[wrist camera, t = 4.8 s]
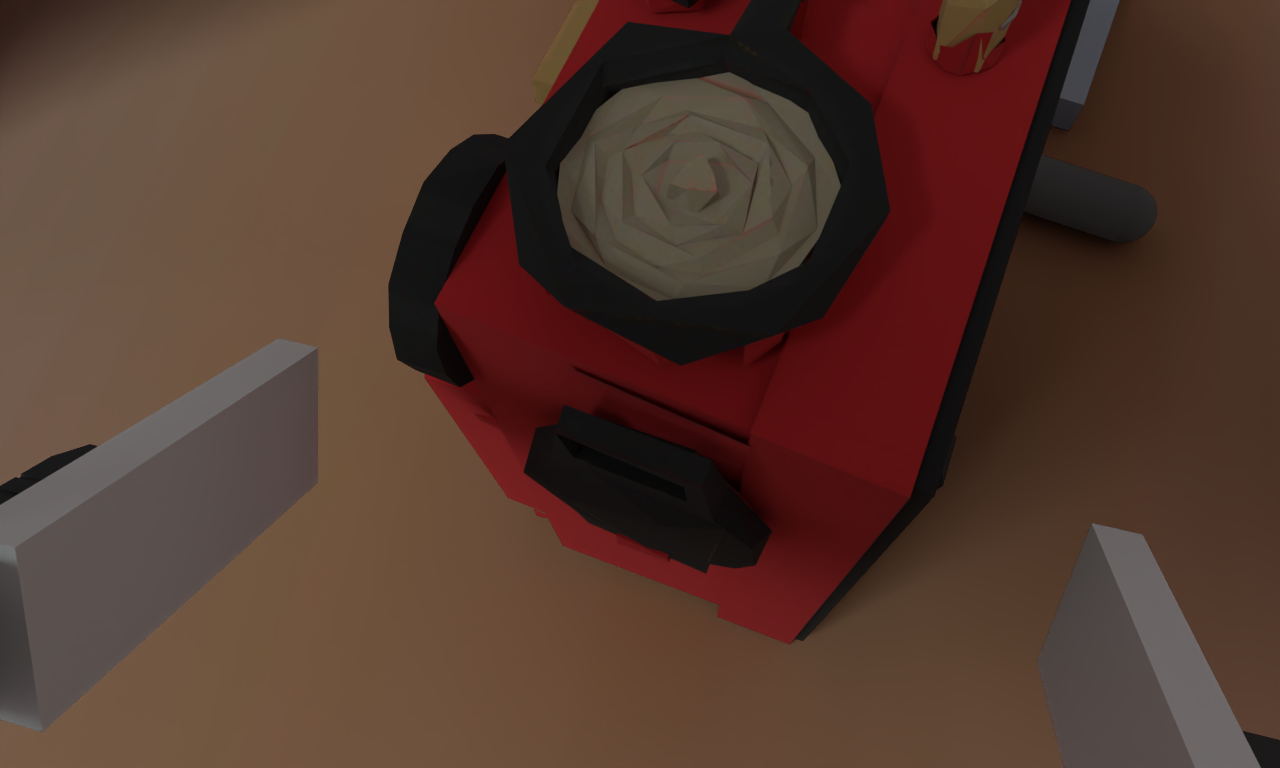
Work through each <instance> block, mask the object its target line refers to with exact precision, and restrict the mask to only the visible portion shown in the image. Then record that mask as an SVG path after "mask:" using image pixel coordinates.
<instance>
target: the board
mask: <svg viewBox="0 0 1280 768" xmlns="http://www.w3.org/2000/svg"><path fill="white" fill-rule="evenodd" d="M1119 1H1120V0H1090V3H1089V6H1088V9H1087V12H1086V15H1085V19H1084V22H1083V25H1082V28H1081V31H1080V35H1079V38H1078V41H1077V44H1076V47H1075V50H1074V54H1073V57H1072V60H1071V63H1070V66H1069V70H1068V73H1067V76H1066V79H1065V82H1064V85H1063V89H1062V92H1061V95H1060V98H1059V101H1058V104H1057V108H1056V111H1055V114H1054V117H1053V120H1052V124H1051V125H1052V126H1055V127H1058V128H1061V129H1064V130H1068V131H1069V129H1070V128H1071V126H1072V124H1073V123H1074V121H1075V119H1076V117H1077V116H1078V114H1079V112H1080V111H1081V109H1082V107H1083V106H1084V103H1085V100H1086V97H1087V94H1088V92H1089V89H1090V86H1091V83H1092V80H1093V77H1094V74H1095V71H1096V68H1097V65H1098V62H1099V59H1100V57H1101V54H1102V51H1103V48H1104V45H1105V42H1106V39H1107V36H1108V33H1109V30H1110V27H1111V24H1112V22H1113V19H1114V16H1115V13H1116V10H1117V7H1118V4H1119Z"/></svg>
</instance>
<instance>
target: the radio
mask: <svg viewBox="0 0 1280 768" xmlns="http://www.w3.org/2000/svg"><path fill="white" fill-rule="evenodd" d="M1089 3H1090V0H576V2H575V3H574V5H573V7H572V9H571V10H570V12H569V14H568V16H567V18H566V19H565V21H564V23H563V25H562V26H561V28H560V30H559V32H558V33H557V35H556V37H555V39H554V41H553V42H552V44H551V46H550V48H549V49H548V51H547V53H546V55H545V56H544V58H543V60H542V62H541V64H540V65H539V67H538V69H537V71H536V72H535V74H534V76H533V78H532V81H533V88H534V96H535V102H537V103H539V104H542V106H541V107H540V108H539V109H538V110H537V111H536V112H535V113H534V114H533V115H532V116H531V117H530V118H529V119H528V120H527V121H526V122H525V123H524V124H523V125H522V126H521V127H520V128H519V129H518V130H517V131H516V132H515V133H514V134H513V135H512V136H511V137H510V138H509V139H508V138H505V137H502V136H499V135H496V134H480V135H472V136H471V137H469V138H468V139H466V140H465V141H463V142H462V143H460V144H459V145H457V146H456V147H454V148H452V149H451V150H450V151H449V152H448V153H447V155H446V156H445V157H444V158H443V159H442V161H441V162H440V163H439V164H438V165H437V167H436V168H435V169H434V170H433V171H432V173H431V174H430V175H429V176H428V177H427V179H426V180H425V181H424V182H423V185H422V187H421V190H420V192H419V195H418V197H417V199H416V202H415V204H414V207H413V209H412V212H411V214H410V216H409V219H408V221H407V224H406V226H405V229H404V231H403V234H402V238H401V241H400V245H399V248H398V252H397V256H396V259H395V263H394V266H393V270H392V274H391V277H390V281H389V284H388V285H389V328H390V332H391V336H392V340H393V345H394V349H395V353H396V357H397V360H399V361H401V362H403V363H404V364H406V365H408V366H410V367H411V368H413V369H415V370H417V371H419V372H422V373H425V379H426V381H427V382H428V383H429V385H430V386H431V388H432V389H433V391H434V392H435V394H436V395H437V396H438V398H439V399H440V401H441V402H442V404H443V405H444V406H445V408H446V409H447V411H448V412H449V414H450V415H451V417H452V418H453V419H454V421H455V422H456V424H457V425H458V427H459V428H460V429H461V431H462V432H463V434H464V435H465V437H466V438H467V440H468V441H469V442H470V444H471V445H472V447H473V448H474V450H475V451H476V452H477V454H478V455H479V457H480V458H481V460H482V461H483V463H484V464H485V465H486V467H487V468H488V470H489V471H490V473H491V474H492V475H493V477H494V478H495V480H496V481H497V483H498V484H499V486H500V487H501V488H502V490H503V491H504V493H505V494H506V496H507V497H508V498H510V499H512V500H515V501H517V502H520V503H523V504H525V505H528V506H530V507H533V508H535V509H538V510H540V511H543V512H545V513H546V514H544V513H541V512H539V511H537V510H535V509H534V510H535V513H536V515H537V516H540V517H544V518H548V519H549V521H550V522H551V524H552V526H553V528H554V530H555V532H556V534H557V536H558V537H559V539H560V541H561V543H562V545H563V546H565V547H568V548H571V549H573V550H576V551H578V552H581V553H584V554H586V555H589V556H592V557H594V558H597V559H600V560H602V561H605V562H608V563H610V564H613V565H615V566H618V567H621V568H623V569H626V570H629V571H631V572H634V573H637V574H639V575H642V576H645V577H647V578H650V579H653V580H655V581H658V582H660V583H663V584H666V585H668V586H671V587H674V588H676V589H679V590H682V591H684V592H687V593H690V594H692V595H695V596H698V597H700V598H703V599H705V600H708V601H711V602H713V603H716V604H719V610H718V616H717V617H720V618H722V619H725V620H727V621H730V622H733V623H735V624H738V625H740V626H743V627H746V628H748V629H751V630H753V631H756V632H759V633H761V634H764V635H766V636H769V637H772V638H774V639H777V640H779V641H782V642H785V643H787V644H790V643H791V642H792V641H793V640H794V638H796V639H799V640H801V641H803V640H804V639H805V638H806V637H807V636H808V635H809V634H810V633H811V632H812V630H813V629H814V628H815V627H816V626H817V625H818V624H819V623H820V622H821V621H822V620H823V618H824V617H825V616H826V615H827V614H828V613H829V612H830V611H831V610H832V608H833V607H834V606H835V605H836V604H837V603H838V602H839V601H840V600H841V598H842V597H843V596H844V595H845V594H846V593H847V592H848V591H849V590H850V589H851V587H852V586H853V585H854V584H855V583H856V582H857V581H858V580H859V579H860V578H861V576H862V575H863V574H864V573H865V572H866V571H867V570H868V569H869V568H870V566H871V565H872V564H873V563H874V562H875V561H876V560H877V559H878V558H879V557H880V555H881V554H882V553H883V552H884V551H885V550H886V549H887V548H888V547H889V546H890V544H891V543H892V542H893V541H894V540H895V539H896V538H897V537H898V536H899V534H900V533H901V532H902V531H903V530H904V529H905V528H906V527H907V526H908V525H909V523H910V522H911V521H912V520H913V519H914V518H915V517H916V516H917V515H918V514H919V512H920V511H921V510H922V509H923V508H924V507H925V506H926V505H927V504H928V503H929V501H930V500H931V499H932V498H933V497H934V496H935V492H936V490H937V489H939V488H940V487H942V486H943V483H944V479H945V476H946V472H947V469H948V466H949V462H950V459H951V455H952V452H953V448H954V445H955V441H956V437H955V436H954V432H955V429H956V426H957V422H958V419H959V416H960V413H961V410H962V407H963V403H964V400H965V397H966V394H967V391H968V388H969V384H970V381H971V378H972V375H973V372H974V368H975V365H976V362H977V359H978V356H979V353H980V349H981V346H982V343H983V340H984V337H985V333H986V330H987V327H988V324H989V321H990V318H991V314H992V311H993V308H994V305H995V302H996V298H997V295H998V292H999V289H1000V286H1001V283H1002V279H1003V276H1004V273H1005V270H1006V267H1007V263H1008V260H1009V257H1010V254H1011V251H1012V248H1013V244H1014V241H1015V238H1016V235H1017V232H1018V229H1019V225H1020V222H1021V219H1022V216H1023V213H1024V209H1025V206H1026V203H1027V200H1028V197H1029V194H1030V190H1031V187H1032V184H1033V181H1034V178H1035V174H1036V171H1037V168H1038V165H1039V162H1040V159H1041V155H1042V152H1043V149H1044V146H1045V143H1046V139H1047V136H1048V133H1049V130H1050V127H1051V124H1052V120H1053V117H1054V114H1055V111H1056V108H1057V104H1058V101H1059V98H1060V95H1061V92H1062V89H1063V85H1064V82H1065V79H1066V76H1067V73H1068V70H1069V66H1070V63H1071V60H1072V57H1073V54H1074V50H1075V47H1076V44H1077V41H1078V38H1079V35H1080V31H1081V28H1082V25H1083V22H1084V19H1085V15H1086V12H1087V9H1088V6H1089Z"/></svg>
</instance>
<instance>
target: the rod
mask: <svg viewBox="0 0 1280 768" xmlns="http://www.w3.org/2000/svg"><path fill="white" fill-rule="evenodd" d="M1024 212H1026V213H1029V214H1032V215H1035V216H1038V217H1041V218H1044V219H1047V220H1050V221H1053V222H1056V223H1059V224H1062V225H1065V226H1068V227H1071V228H1074V229H1077V230H1080V231H1083V232H1086V233H1089V234H1092V235H1095V236H1098V237H1101V238H1104V239H1107V240H1110V241H1114V242H1121V243H1124V242H1131V241H1134V240H1137V239H1139V238H1141V237H1142V236H1144V235H1145V234H1146V233H1147V232H1148V231H1149V230H1150V229H1151V228H1152V226H1153V224H1154V222H1155V220H1156V216H1157V206H1156V203H1155V200H1154V198H1153V197H1152V195H1151V194H1150V193H1149V192H1148V191H1147V190H1145V189H1144V188H1142V187H1139V186H1137V185H1134V184H1131V183H1128V182H1125V181H1122V180H1118V179H1115V178H1112V177H1109V176H1106V175H1103V174H1100V173H1097V172H1093V171H1090V170H1087V169H1084V168H1081V167H1078V166H1075V165H1072V164H1068V163H1065V162H1062V161H1059V160H1056V159H1053V158H1050V157H1047V156H1043V155H1041V159H1040V162H1039V165H1038V168H1037V171H1036V174H1035V178H1034V181H1033V184H1032V187H1031V190H1030V194H1029V197H1028V200H1027V203H1026V206H1025V209H1024Z"/></svg>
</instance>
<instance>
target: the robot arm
mask: <svg viewBox="0 0 1280 768" xmlns="http://www.w3.org/2000/svg"><path fill="white" fill-rule="evenodd" d="M317 483H318V347H314V346H309V345H305V344H301V343H296V342H292V341H287V340H283V339H279V338H278V339H277V340H275V341H273V342H272V343H270V344H268V345H267V346H265V347H263V348H262V349H260V350H258V351H257V352H255V353H253V354H252V355H250V356H248V357H247V358H245V359H243V360H242V361H240V362H238V363H236V364H235V365H233V366H231V367H230V368H228V369H226V370H225V371H223V372H221V373H220V374H218V375H216V376H215V377H213V378H211V379H210V380H208V381H206V382H205V383H203V384H201V385H200V386H198V387H196V388H195V389H193V390H191V391H190V392H188V393H186V394H185V395H183V396H181V397H180V398H178V399H176V400H175V401H173V402H171V403H170V404H168V405H166V406H165V407H163V408H161V409H160V410H158V411H156V412H155V413H153V414H151V415H150V416H148V417H146V418H145V419H143V420H141V421H140V422H138V423H136V424H135V425H133V426H131V427H130V428H128V429H126V430H125V431H123V432H121V433H120V434H118V435H116V436H115V437H113V438H111V439H110V440H108V441H106V442H105V443H103V444H101V445H100V446H95V445H91V444H89V445H86V446H83V447H80V448H77V449H73V450H70V451H67V452H64V453H61V454H58V455H54V456H51V457H50V458H48V459H46V460H44V461H43V462H41V463H39V464H37V465H36V466H34V467H32V468H31V469H29V470H27V471H25V472H24V473H22V474H21V477H20V478H17V477H15V478H13V479H11V480H10V481H8V482H6V483H5V484H3V485H1V486H0V720H3V721H7V722H10V723H13V724H17V725H20V726H23V727H27V728H30V729H33V730H37V731H40V732H43V731H44V730H45V729H46V728H48V727H49V726H50V725H51V724H52V723H53V722H54V721H55V720H56V719H57V718H59V717H60V716H61V715H62V714H63V713H64V712H65V711H66V710H67V709H69V708H70V707H71V706H72V705H73V704H74V703H75V702H76V701H77V700H78V699H80V698H81V697H82V696H83V695H84V694H85V693H86V692H87V691H88V690H89V689H91V688H92V687H93V686H94V685H95V684H96V683H97V682H98V681H99V680H101V679H102V678H103V677H104V676H105V675H106V674H107V673H108V672H109V671H110V670H112V669H113V668H114V667H115V666H116V665H117V664H118V663H119V662H120V661H122V660H123V659H124V658H125V657H126V656H127V655H128V654H129V653H130V652H131V651H133V650H134V649H135V648H136V647H137V646H138V645H139V644H140V643H141V642H142V641H144V640H145V639H146V638H147V637H148V636H149V635H150V634H151V633H152V632H154V631H155V630H156V629H157V628H158V627H159V626H160V625H161V624H162V623H163V622H165V621H166V620H167V619H168V618H169V617H170V616H171V615H172V614H173V613H175V612H176V611H177V610H178V609H179V608H180V607H181V606H182V605H183V604H184V603H186V602H187V601H188V600H189V599H190V598H191V597H192V596H193V595H194V594H195V593H197V592H198V591H199V590H200V589H201V588H202V587H203V586H204V585H205V584H207V583H208V582H209V581H210V580H211V579H212V578H213V577H214V576H215V575H216V574H218V573H219V572H220V571H221V570H222V569H223V568H224V567H225V566H226V565H228V564H229V563H230V562H231V561H232V560H233V559H234V558H235V557H236V556H237V555H239V554H240V553H241V552H242V551H243V550H244V549H245V548H246V547H247V546H248V545H250V544H251V543H252V542H253V541H254V540H255V539H256V538H257V537H258V536H260V535H261V534H262V533H263V532H264V531H265V530H266V529H267V528H268V527H269V526H271V525H272V524H273V523H274V522H275V521H276V520H277V519H278V518H279V517H281V516H282V515H283V514H284V513H285V512H286V511H287V510H288V509H289V508H290V507H292V506H293V505H294V504H295V503H296V502H297V501H298V500H299V499H300V498H301V497H303V496H304V495H305V494H306V493H307V492H308V491H309V490H310V489H311V488H313V487H314V486H315V485H316V484H317ZM1037 664H1038V668H1039V671H1040V675H1041V679H1042V683H1043V687H1044V691H1045V695H1046V699H1047V703H1048V707H1049V711H1050V715H1051V719H1052V723H1053V726H1054V730H1055V734H1056V738H1057V742H1058V746H1059V750H1060V754H1061V758H1062V762H1063V766H1064V768H1280V741H1279V740H1277V739H1273V738H1269V737H1265V736H1261V735H1257V734H1253V733H1249V732H1245V731H1242V730H1241V728H1240V726H1239V724H1238V722H1237V720H1236V718H1235V716H1234V714H1233V712H1232V710H1231V708H1230V706H1229V704H1228V702H1227V700H1226V698H1225V696H1224V694H1223V692H1222V690H1221V688H1220V686H1219V684H1218V682H1217V680H1216V678H1215V676H1214V674H1213V672H1212V671H1211V669H1210V667H1209V665H1208V663H1207V661H1206V659H1205V657H1204V655H1203V653H1202V651H1201V649H1200V647H1199V645H1198V643H1197V641H1196V639H1195V637H1194V635H1193V633H1192V631H1191V629H1190V627H1189V625H1188V623H1187V621H1186V619H1185V617H1184V615H1183V613H1182V611H1181V609H1180V607H1179V605H1178V603H1177V601H1176V599H1175V597H1174V596H1173V594H1172V592H1171V590H1170V588H1169V586H1168V584H1167V582H1166V580H1165V578H1164V576H1163V574H1162V572H1161V570H1160V568H1159V566H1158V564H1157V562H1156V560H1155V558H1154V556H1153V554H1152V552H1151V550H1150V548H1149V546H1148V544H1147V542H1146V540H1145V538H1144V536H1143V535H1142V534H1138V533H1133V532H1129V531H1125V530H1120V529H1116V528H1111V527H1107V526H1102V525H1098V524H1094V523H1092V524H1091V526H1090V529H1089V531H1088V534H1087V536H1086V539H1085V541H1084V544H1083V546H1082V549H1081V551H1080V554H1079V556H1078V559H1077V561H1076V564H1075V567H1074V569H1073V572H1072V574H1071V577H1070V579H1069V582H1068V584H1067V587H1066V589H1065V592H1064V594H1063V597H1062V599H1061V602H1060V604H1059V607H1058V610H1057V612H1056V615H1055V617H1054V620H1053V622H1052V625H1051V627H1050V630H1049V632H1048V635H1047V637H1046V640H1045V642H1044V645H1043V648H1042V650H1041V653H1040V655H1039V658H1038V660H1037Z"/></svg>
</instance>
